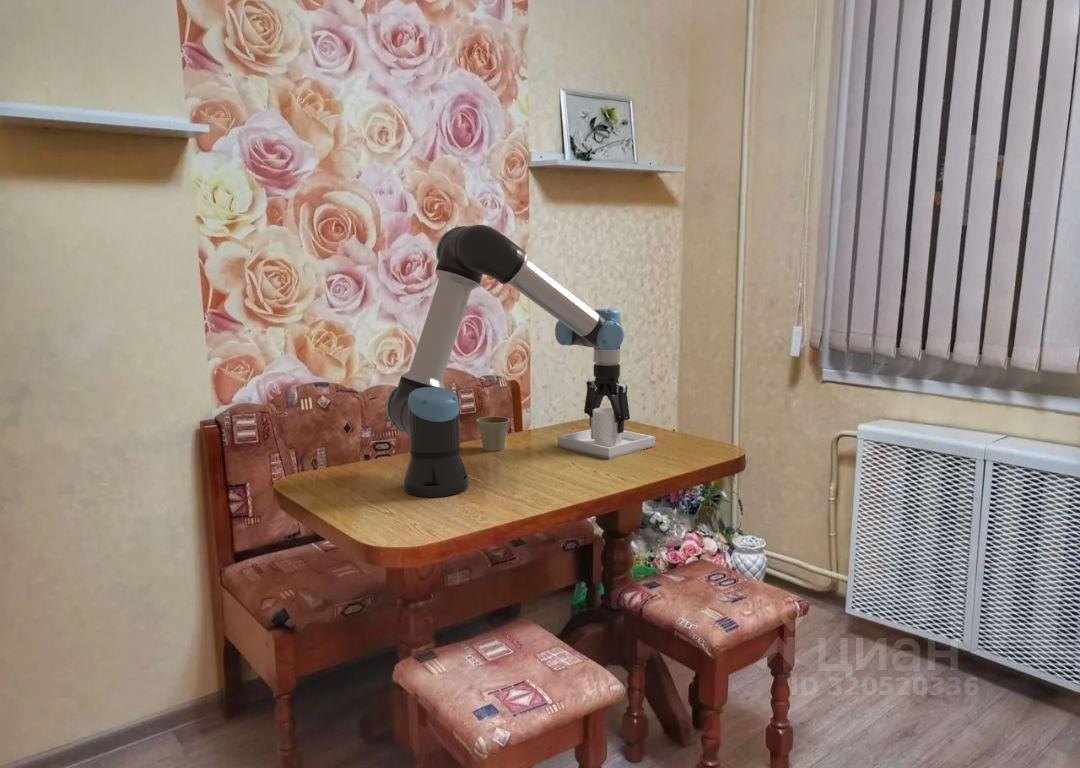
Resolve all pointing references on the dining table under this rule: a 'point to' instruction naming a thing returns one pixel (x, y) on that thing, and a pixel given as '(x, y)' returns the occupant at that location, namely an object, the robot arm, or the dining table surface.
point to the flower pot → (493, 432)
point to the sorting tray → (586, 445)
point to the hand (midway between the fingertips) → (606, 440)
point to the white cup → (603, 426)
